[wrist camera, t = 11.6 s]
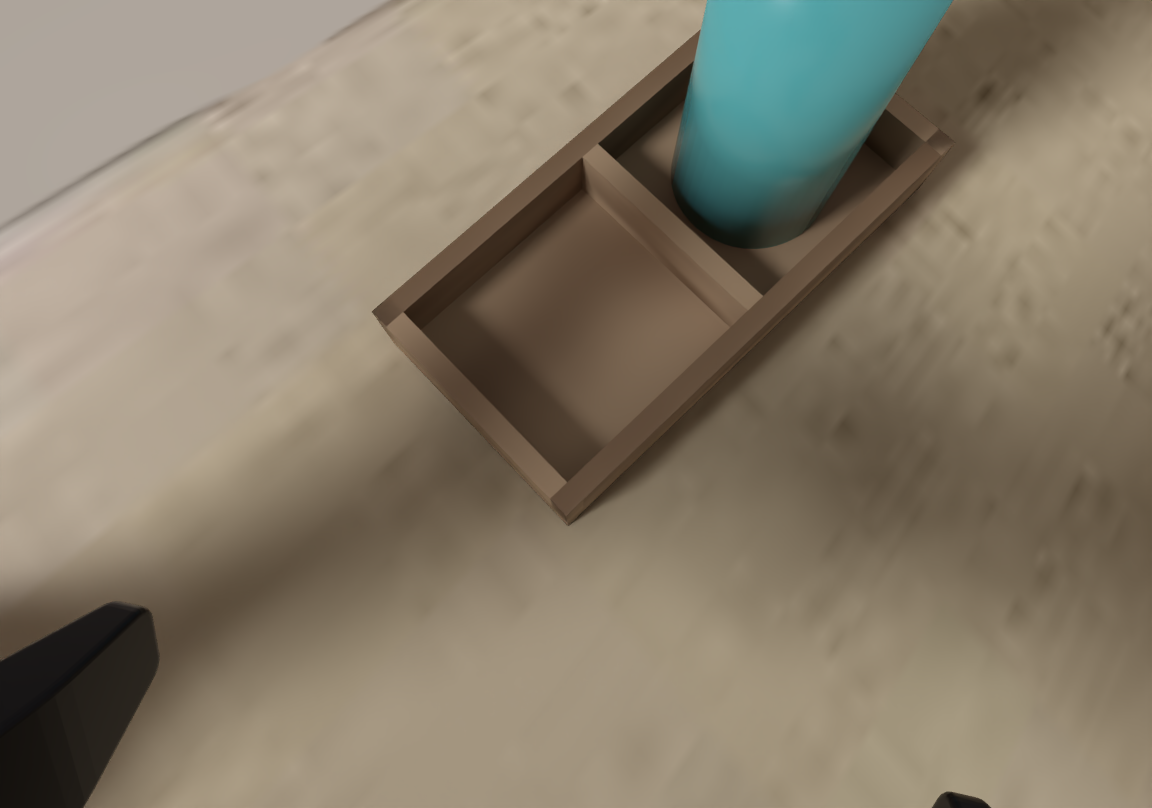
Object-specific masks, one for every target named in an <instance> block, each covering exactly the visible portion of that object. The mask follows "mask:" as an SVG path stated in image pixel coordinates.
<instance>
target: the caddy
mask: <svg viewBox="0 0 1152 808" xmlns="http://www.w3.org/2000/svg"><path fill="white" fill-rule="evenodd" d="M700 31H701V30H699V31H698V32H697V33H696V34H695V35H694V36H692V37H691V38H690V39H689V40H688V41H687V42H685V43H684V44H683V45H682V46H681V47H680V48H678V49H677V50H676V51H675V52H674V53H673V54H671V55H670V56H669V57H668V58H667V59H666V60H664V61H663V62H662V63H661V64H660V65H659V66H657V67H656V68H655V69H654V70H653V71H652V72H650V73H649V74H648V75H647V76H646V77H645V78H643V79H642V80H641V81H640V82H639V83H638V84H636V85H635V86H634V87H633V88H632V89H631V90H629V91H628V92H627V93H626V94H625V95H624V96H622V97H621V98H620V99H619V100H618V101H617V102H615V103H614V104H613V105H612V106H611V107H610V108H608V109H607V110H606V111H605V112H604V113H603V114H601V115H600V116H599V117H598V118H597V119H596V120H594V121H593V122H592V123H591V124H590V125H589V126H587V127H586V128H585V129H584V130H583V131H582V132H580V133H579V134H578V135H577V136H576V137H575V138H573V139H572V140H571V141H570V142H569V143H568V144H566V145H565V146H564V147H563V148H562V149H561V150H559V151H558V152H557V153H556V154H555V155H554V156H552V157H551V158H550V159H549V160H548V161H547V162H545V163H544V164H543V165H542V166H541V167H540V168H538V169H537V170H536V171H535V172H534V173H533V174H531V175H530V176H529V177H528V178H527V179H526V180H524V181H523V182H522V183H521V184H520V185H519V186H518V187H516V188H515V189H514V190H513V191H512V192H511V193H509V194H508V195H507V196H506V197H505V198H504V199H502V200H501V201H500V202H499V203H498V204H497V205H495V206H494V207H493V208H492V209H491V210H490V211H488V212H487V213H486V214H485V215H484V216H483V217H481V218H480V219H479V220H478V221H477V222H476V223H474V224H473V225H472V226H471V227H470V228H469V229H467V230H466V231H465V232H464V233H463V234H462V235H460V236H459V237H458V238H457V239H456V240H455V241H453V242H452V243H451V244H450V245H449V246H448V247H446V248H445V249H444V250H443V251H442V252H441V253H439V254H438V255H437V256H436V257H435V258H434V259H432V260H431V261H430V262H429V263H428V264H427V265H425V266H424V267H423V268H422V269H421V270H420V271H418V272H417V273H416V274H415V275H414V276H413V277H411V278H410V279H409V280H408V281H407V282H406V283H404V284H403V285H402V286H401V287H400V288H399V289H397V290H396V291H395V292H394V293H393V294H392V295H390V296H389V297H388V298H387V299H386V300H385V301H383V302H382V303H381V304H380V305H379V306H378V307H376V308H375V309H374V310H373V311H372V313H373V314H374V315H375V317H376V318H377V320H378V321H379V323H380V324H381V325H382V327H383V328H384V330H385V331H386V332H387V334H388V335H389V337H390V338H391V339H392V341H393V342H394V343H395V344H396V345H397V346H398V347H399V349H400V350H401V351H402V352H403V353H404V354H405V355H406V356H407V357H408V358H409V359H410V360H411V361H412V362H413V363H414V364H415V365H416V366H417V367H418V369H419V370H420V371H421V372H422V373H423V374H424V375H425V376H426V377H427V378H428V379H429V380H430V381H431V382H432V383H433V384H434V385H435V386H436V387H437V388H438V390H439V391H440V392H441V393H442V394H443V395H444V396H445V397H446V398H447V399H448V400H449V401H450V402H451V403H452V404H453V405H454V406H455V407H456V408H457V410H458V411H459V412H460V413H461V414H462V415H463V416H464V417H465V418H466V419H467V420H468V421H469V422H470V423H471V424H472V425H473V426H474V427H475V428H476V430H477V431H478V432H479V433H480V434H481V435H482V436H483V437H484V438H485V439H486V440H487V441H488V442H489V443H490V444H491V445H492V446H493V447H494V448H495V450H496V451H497V452H498V453H499V454H500V455H501V456H502V457H503V458H504V459H505V460H506V461H507V462H508V463H509V464H510V465H511V466H512V467H513V468H514V470H515V471H516V472H517V473H518V474H519V475H520V476H521V477H522V478H523V479H524V480H525V481H526V482H527V483H528V484H529V485H530V486H531V487H532V488H533V489H534V491H535V492H536V493H537V494H538V495H539V496H540V497H541V498H542V499H543V500H544V501H545V502H546V503H547V504H548V505H549V506H550V507H551V508H552V509H553V511H554V512H555V513H556V514H557V515H558V516H559V517H560V518H561V519H562V520H563V521H564V522H565V523H566V524H567V525H569V524H571V523H572V522H573V521H574V520H575V519H576V518H577V517H578V516H579V515H580V514H581V513H582V512H583V511H584V510H585V509H586V508H587V507H588V506H589V505H590V504H591V503H592V502H593V501H594V500H595V499H596V498H598V497H599V496H600V495H601V494H602V493H603V492H604V491H605V490H606V489H607V488H608V487H609V486H610V485H611V484H612V483H613V482H614V481H615V480H616V479H617V478H618V477H619V476H620V475H621V474H622V473H623V472H625V471H626V470H627V469H628V468H629V467H630V466H631V465H632V464H633V463H634V462H635V461H636V460H637V459H638V458H639V457H640V456H641V455H642V454H643V453H644V452H645V451H646V450H647V449H648V448H649V447H650V446H652V445H653V444H654V443H655V442H656V441H657V440H658V439H659V438H660V437H661V436H662V435H663V434H664V433H665V432H666V431H667V430H668V429H669V428H670V427H671V426H672V425H673V424H674V423H675V422H676V421H677V420H679V419H680V418H681V417H682V416H683V415H684V414H685V413H686V412H687V411H688V410H689V409H690V408H691V407H692V406H693V405H694V404H695V403H696V402H697V401H698V400H699V399H700V398H701V397H702V396H703V395H704V394H706V393H707V392H708V391H709V390H710V389H711V388H712V387H713V386H714V385H715V384H716V383H717V382H718V381H719V380H720V379H721V378H722V377H723V376H724V375H725V374H726V373H727V372H728V371H729V370H730V369H731V368H733V367H734V366H735V365H736V364H737V363H738V362H739V361H740V360H741V359H742V358H743V357H744V356H745V355H746V354H747V353H748V352H749V351H750V350H751V349H752V348H753V347H754V346H755V345H756V344H757V343H758V342H760V341H761V340H762V339H763V338H764V337H765V336H766V335H767V334H768V333H769V332H770V331H771V330H772V329H773V328H774V327H775V326H776V325H777V324H778V323H779V322H780V321H781V320H782V319H783V318H784V317H785V316H787V315H788V314H789V313H790V312H791V311H792V310H793V309H794V308H795V307H796V306H797V305H798V304H799V303H800V302H801V301H802V300H803V299H804V298H805V297H806V296H807V295H808V294H809V293H810V292H811V291H812V290H814V289H815V288H816V287H817V286H818V285H819V284H820V283H821V282H822V281H823V280H824V279H825V278H826V277H827V276H828V275H829V274H830V273H831V272H832V271H833V270H834V269H835V268H836V267H837V266H838V265H839V264H841V263H842V262H843V261H844V260H845V259H846V258H847V257H848V256H849V255H850V254H851V253H852V252H853V251H854V250H855V249H856V248H857V247H858V246H859V245H860V244H861V243H862V242H863V241H864V240H865V239H866V238H868V237H869V236H870V235H871V234H872V233H873V232H874V231H875V230H876V229H877V228H878V227H879V226H880V225H881V224H882V223H883V222H884V221H885V220H886V219H887V218H888V217H889V216H890V215H891V214H892V213H893V212H895V211H896V210H897V209H898V208H899V207H900V206H901V205H902V204H903V203H904V202H905V201H906V200H907V199H908V198H909V197H910V196H911V195H912V194H913V193H914V192H915V191H916V190H917V189H918V188H919V187H920V186H921V185H922V183H923V182H924V181H925V180H926V178H927V177H928V176H929V175H930V173H931V172H932V171H933V170H934V168H935V167H936V166H937V165H938V163H939V162H940V161H941V160H942V158H943V157H944V156H945V155H946V153H947V152H948V151H949V150H950V149H951V147H952V146H953V145H954V144H955V142H954V141H953V140H952V139H951V138H949V137H948V136H947V135H946V134H945V133H943V132H942V131H941V130H940V129H939V128H937V127H936V126H935V125H934V124H933V123H931V122H930V121H929V120H928V119H927V118H925V117H924V116H923V115H922V114H920V113H919V112H918V111H917V110H916V109H914V108H913V107H912V106H911V105H910V104H908V103H907V102H906V101H905V100H904V99H902V98H901V97H900V96H899V95H897V94H896V93H895V94H894V96H893V97H892V99H891V100H890V102H889V104H888V105H887V107H886V108H885V110H884V112H883V113H882V115H881V116H880V118H879V119H878V121H877V123H876V124H875V126H874V127H873V129H872V131H871V132H870V134H869V135H868V137H867V139H866V140H865V142H864V143H863V145H862V147H861V148H860V150H859V151H858V153H857V155H856V156H855V158H854V159H853V161H852V163H851V164H850V166H849V167H848V169H847V171H846V172H845V174H844V175H843V177H842V179H841V180H840V182H839V183H838V185H837V187H836V188H835V190H834V191H833V193H832V195H831V196H830V198H829V199H828V201H827V203H826V204H825V206H824V207H823V209H822V210H821V212H820V214H819V215H818V217H817V218H816V220H815V221H814V222H813V223H812V225H811V226H810V227H809V228H808V229H806V230H805V231H804V232H803V233H802V234H800V235H799V236H797V237H796V238H794V239H792V240H790V241H788V242H786V243H783V244H780V245H778V246H774V247H769V248H762V249H744V248H738V247H733V246H730V245H726V244H723V243H721V242H718V241H716V240H714V239H712V238H710V237H709V236H707V235H705V234H704V233H702V232H701V231H700V230H699V229H697V228H696V227H695V226H694V225H693V224H692V223H691V222H690V221H689V220H688V219H687V217H686V216H685V215H684V214H683V212H682V210H681V209H680V207H679V205H678V203H677V201H676V199H675V196H674V193H673V189H672V184H671V164H672V159H673V154H674V149H675V145H676V140H677V136H678V131H679V127H680V122H681V118H682V113H683V109H684V104H685V99H686V95H687V90H688V86H689V81H690V77H691V72H692V68H693V63H694V58H695V54H696V49H697V45H698V40H699V36H700Z"/></svg>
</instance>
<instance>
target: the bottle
mask: <svg viewBox="0 0 1152 808" xmlns="http://www.w3.org/2000/svg"><path fill="white" fill-rule="evenodd" d="M952 1H953V0H707V4H706V8H705V13H704V18H703V22H702V27H701V31H700V36H699V40H698V45H697V49H696V54H695V58H694V63H693V68H692V72H691V77H690V81H689V86H688V90H687V95H686V99H685V104H684V109H683V113H682V118H681V122H680V127H679V131H678V136H677V140H676V145H675V149H674V154H673V159H672V164H671V184H672V189H673V193H674V196H675V199H676V201H677V203H678V205H679V207H680V209H681V210H682V212H683V214H684V215H685V216H686V217H687V219H688V220H689V221H690V222H691V223H692V224H693V225H694V226H695V227H696V228H697V229H699V230H700V231H701V232H702V233H704V234H705V235H707V236H709V237H710V238H712V239H714V240H716V241H718V242H721V243H723V244H726V245H730V246H733V247H738V248H744V249H762V248H769V247H774V246H778V245H780V244H783V243H786V242H788V241H790V240H792V239H794V238H796V237H797V236H799V235H800V234H802V233H803V232H804V231H805V230H806V229H808V228H809V227H810V226H811V225H812V223H813V222H814V221H815V220H816V218H817V217H818V215H819V214H820V212H821V210H822V209H823V207H824V206H825V204H826V203H827V201H828V199H829V198H830V196H831V195H832V193H833V191H834V190H835V188H836V187H837V185H838V183H839V182H840V180H841V179H842V177H843V175H844V174H845V172H846V171H847V169H848V167H849V166H850V164H851V163H852V161H853V159H854V158H855V156H856V155H857V153H858V151H859V150H860V148H861V147H862V145H863V143H864V142H865V140H866V139H867V137H868V135H869V134H870V132H871V131H872V129H873V127H874V126H875V124H876V123H877V121H878V119H879V118H880V116H881V115H882V113H883V112H884V110H885V108H886V107H887V105H888V104H889V102H890V100H891V99H892V97H893V96H894V94H895V92H896V91H897V89H898V88H899V86H900V84H901V83H902V81H903V80H904V78H905V76H906V75H907V73H908V72H909V70H910V68H911V67H912V65H913V64H914V62H915V60H916V59H917V57H918V56H919V54H920V52H921V51H922V49H923V48H924V46H925V44H926V43H927V41H928V40H929V38H930V36H931V35H932V33H933V32H934V30H935V28H936V27H937V25H938V24H939V22H940V20H941V19H942V17H943V16H944V14H945V13H946V11H947V9H948V8H949V6H950V5H951V3H952Z"/></svg>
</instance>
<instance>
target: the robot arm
mask: <svg viewBox="0 0 1152 808" xmlns="http://www.w3.org/2000/svg"><path fill="white" fill-rule="evenodd" d="M158 664H159V650H158V645H157V639H156V633H155V628H154V622H153V617H152V613H151V612H150V611H149V610H148V609H147V608H146V607H143V606H139V605H134V604H130V603H125V602H121V601H114V602H110V603H107V604H105V605H102V606H101V607H99V608H97V609H95V610H93V611H91V612H89V613H88V614H86V615H84V616H82V617H80V618H78V619H76V620H75V621H73V622H71V623H69V624H67V625H65V626H63V627H61V628H60V629H58V630H56V631H54V632H52V633H50V634H48V635H47V636H45V637H43V638H41V639H39V640H37V641H35V642H33V643H32V644H30V645H28V646H26V647H24V648H22V649H20V650H19V651H17V652H15V653H13V654H11V655H9V656H7V657H5V658H4V659H2V660H0V808H83V807H84V806H85V804H86V802H87V801H88V799H89V797H90V795H91V794H92V792H93V790H94V788H95V787H96V785H97V783H98V781H99V779H100V777H101V776H102V774H103V772H104V770H105V768H106V766H107V764H108V763H109V761H110V759H111V757H112V755H113V753H114V751H115V749H116V748H117V746H118V744H119V742H120V740H121V738H122V736H123V734H124V733H125V731H126V729H127V727H128V725H129V723H130V721H131V720H132V718H133V716H134V714H135V712H136V710H137V708H138V706H139V705H140V703H141V701H142V699H143V697H144V695H145V693H146V691H147V690H148V688H149V686H150V684H151V682H152V680H153V678H154V676H155V674H156V671H157V668H158ZM932 808H991V807H990V806H989V805H988V804H987V803H986V802H984V801H983V800H981V799H979V798H976V797H972V796H968V795H963V794H959V793H955V792H945V793H943V794H941V795H940V796H939V797H938V799H937V800H936V802H935V804H934V805H933V807H932Z"/></svg>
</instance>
